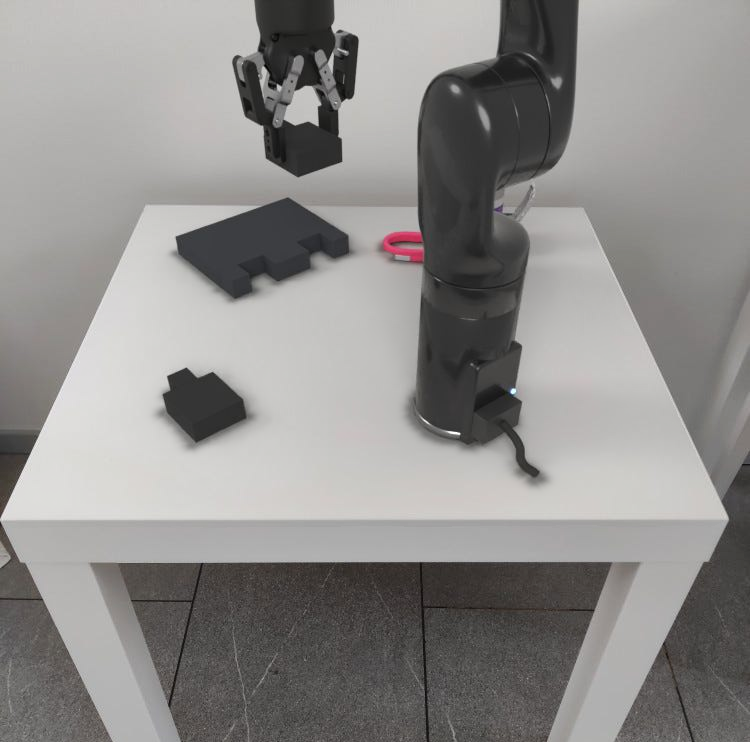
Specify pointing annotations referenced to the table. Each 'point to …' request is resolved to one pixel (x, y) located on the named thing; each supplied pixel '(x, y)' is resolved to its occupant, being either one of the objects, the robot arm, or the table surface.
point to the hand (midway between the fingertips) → (303, 151)
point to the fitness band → (401, 252)
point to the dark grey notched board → (260, 245)
